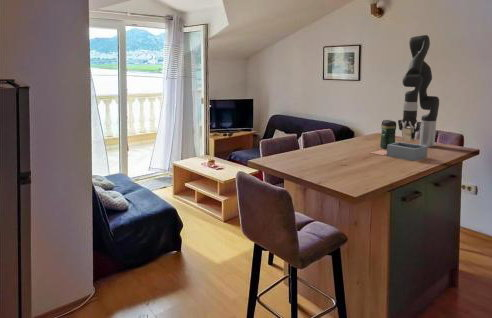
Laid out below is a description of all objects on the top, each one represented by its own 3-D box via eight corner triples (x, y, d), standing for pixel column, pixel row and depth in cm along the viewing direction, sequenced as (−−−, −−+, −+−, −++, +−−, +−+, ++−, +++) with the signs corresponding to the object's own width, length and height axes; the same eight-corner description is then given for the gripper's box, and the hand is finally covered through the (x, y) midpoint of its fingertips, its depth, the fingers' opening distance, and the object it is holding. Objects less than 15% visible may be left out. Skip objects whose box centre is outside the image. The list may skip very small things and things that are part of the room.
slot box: (399, 152, 258) (400, 141, 256) (426, 157, 244) (427, 146, 242) (386, 156, 249) (387, 144, 248) (414, 161, 236) (415, 149, 234)
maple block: (406, 139, 248) (407, 127, 246) (414, 140, 244) (415, 128, 242) (402, 140, 245) (402, 128, 243) (409, 141, 241) (410, 129, 239)
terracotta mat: (381, 150, 264) (381, 149, 264) (393, 152, 258) (393, 152, 257) (370, 153, 257) (370, 152, 257) (382, 155, 250) (382, 154, 250)
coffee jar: (396, 149, 268) (398, 120, 264) (385, 149, 267) (387, 121, 262) (388, 146, 277) (390, 118, 273) (378, 147, 276) (379, 119, 271)
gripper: (425, 109, 237) (423, 138, 241) (402, 107, 248) (400, 135, 252) (418, 111, 232) (416, 140, 236) (395, 109, 243) (393, 137, 247)
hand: (408, 137), depth 244 cm, fingers closed on maple block, 5 cm apart
